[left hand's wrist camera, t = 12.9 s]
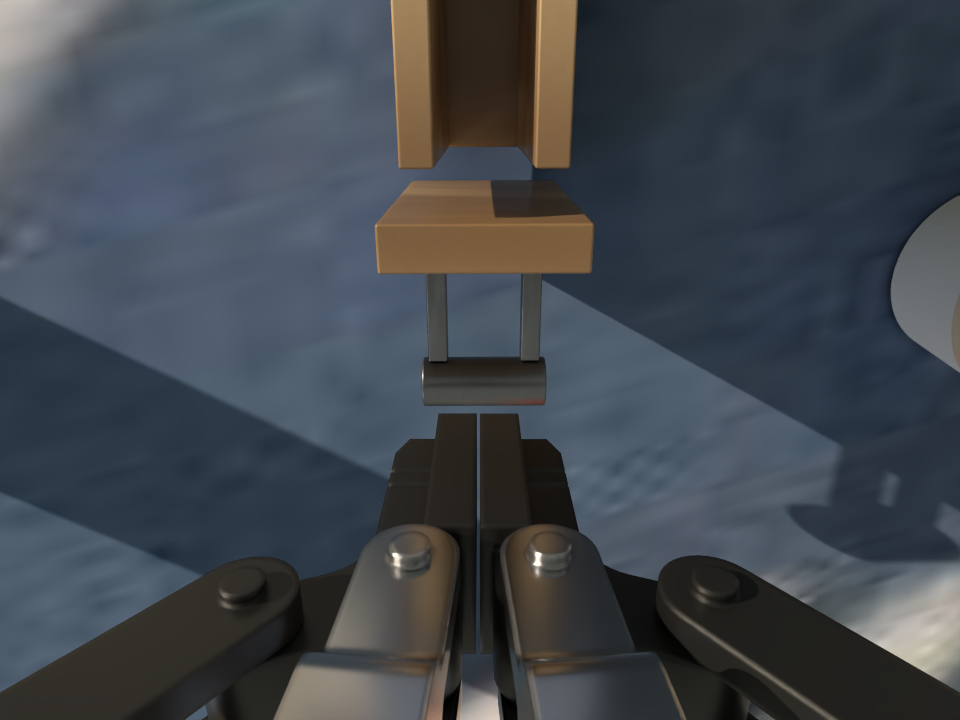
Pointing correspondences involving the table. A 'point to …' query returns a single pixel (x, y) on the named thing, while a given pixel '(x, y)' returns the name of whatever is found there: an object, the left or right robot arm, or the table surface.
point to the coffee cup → (931, 284)
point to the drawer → (489, 203)
